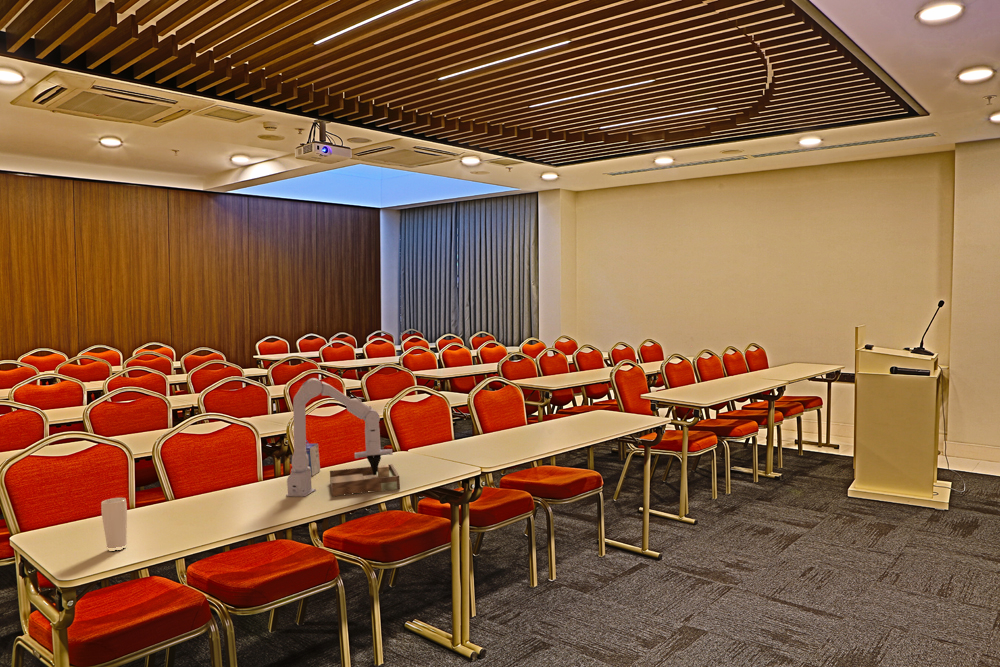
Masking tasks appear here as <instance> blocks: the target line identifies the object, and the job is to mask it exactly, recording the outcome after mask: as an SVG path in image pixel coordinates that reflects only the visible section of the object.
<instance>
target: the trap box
mask: <svg viewBox="0 0 1000 667" xmlns="http://www.w3.org/2000/svg"><path fill="white" fill-rule="evenodd" d="M387 465H388V466H389V477H381V478H379V477H378V468H377V475H373V471H372V468H371V466H364V467H363V466H362V467H361V466H360V467H355V468H354V467H353V468H344V469H336V470H329V479H330V480H329V483H330V488H331V493H332V494H333V495H332V494H331V495H332V497H333V496H334V497H339V496H338V495H343V496H345V495H344V494H351V495H353V494H352V493H360V494H362V493H361V492H368V491H378V492H383V491H382V490H386V491H395V490H400V489H401V484H400V483H401V482H400V475H399V473H398V471H397V470H396V468H395V466H394V465H393V463H391V464H387Z"/></svg>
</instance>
